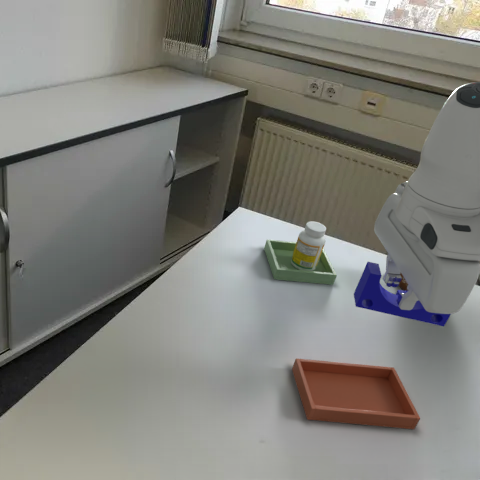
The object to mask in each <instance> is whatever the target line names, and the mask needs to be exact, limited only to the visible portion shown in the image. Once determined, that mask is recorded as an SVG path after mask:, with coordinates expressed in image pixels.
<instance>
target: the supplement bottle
mask: <svg viewBox="0 0 480 480" xmlns="http://www.w3.org/2000/svg"><path fill="white" fill-rule="evenodd" d="M326 231H327V227H326V226H325V225H324V224H323V223H322V222H321V223H320V222H318V221H311V220H309V221H307V222H306V224H305V227H304V229H303V230H301V231H300V232H299V234H298V236H297V239H296V241H295V242H296V246H295V249H294V252H293V255H292V258H291V263H292V265H293V266H294V267H295V268H297V269H299V270H304V271H313V270H315V269H316V266H317V264H318V261H319V258H320V256H321V253H322V250H323V248H325V244H326V237H325V235H326Z"/></svg>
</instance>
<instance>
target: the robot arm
mask: <svg viewBox="0 0 480 480" xmlns="http://www.w3.org/2000/svg"><path fill="white" fill-rule="evenodd" d="M437 114H438V115H437V116H436V117H435V119H434V121H433V123H432V126H431V127H430V130H429V131H428V134H427V135H426V137H425V140H424V143H423V145H422V147H421V150H420V159H419V164H418V165H417V168H416V169H415V170H414V171H413V173H412V174H411V175H410V176H409V178H408V180H407V181H404V182H402V183H400V184H398V185H397V187H396V189H395V191H394V193H392V194H390V195H389V196H388V197H387V199H386V200H385V202H384V203H383V205H382V207H381V209H380V211H379V213H378V215H377V217H376V219H375V222H374V227H373V228H374V229H373V232H374V234H375V235H376V237H377V239H378V240H379V241H380V243H381V245H382V246H383V247H384V249H385V251H386V252H387V255H386V258H385V261H386V263H385V273H384V274H383V277H382V281H383V282H384V284H385V285H386V287H388V288H398V287H399V282H400V281H401V279H402V277H401V276H400V272H401V273H402V275H403V277H404V278H405V280H406V281H407V283H408V286H407V289H408V290H409V291H408V292H407V293H399V296H398V299H397V300H396V302H397V304H398V306H399V307H400V309H401V310H411V309H413V307H414V305H415V303H416V301H418V300H419V301H420V302H421V304H422V305H423V307H424V309H425V310H426V311H428V312H431V313H440V314H451V315H452V314H455V313H458V312H459V311H460V310H461V309H462V308H463V307H464V305H465V303H466V302H467V300H468V298H469V297H470V296H471V293H472V291H473V289H474V287H475V285H476V284H477V281H478V279H479V276H480V81H475V82H470V83H465V84H463V85H460V86H459V87H457V88H455V90H454V91H453V92H452V93H451V95H450V96H449V97H448V99H446V101H445V102H444V104H443V106H442V107H441V108H440V110H439V112H438V113H437Z"/></svg>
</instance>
